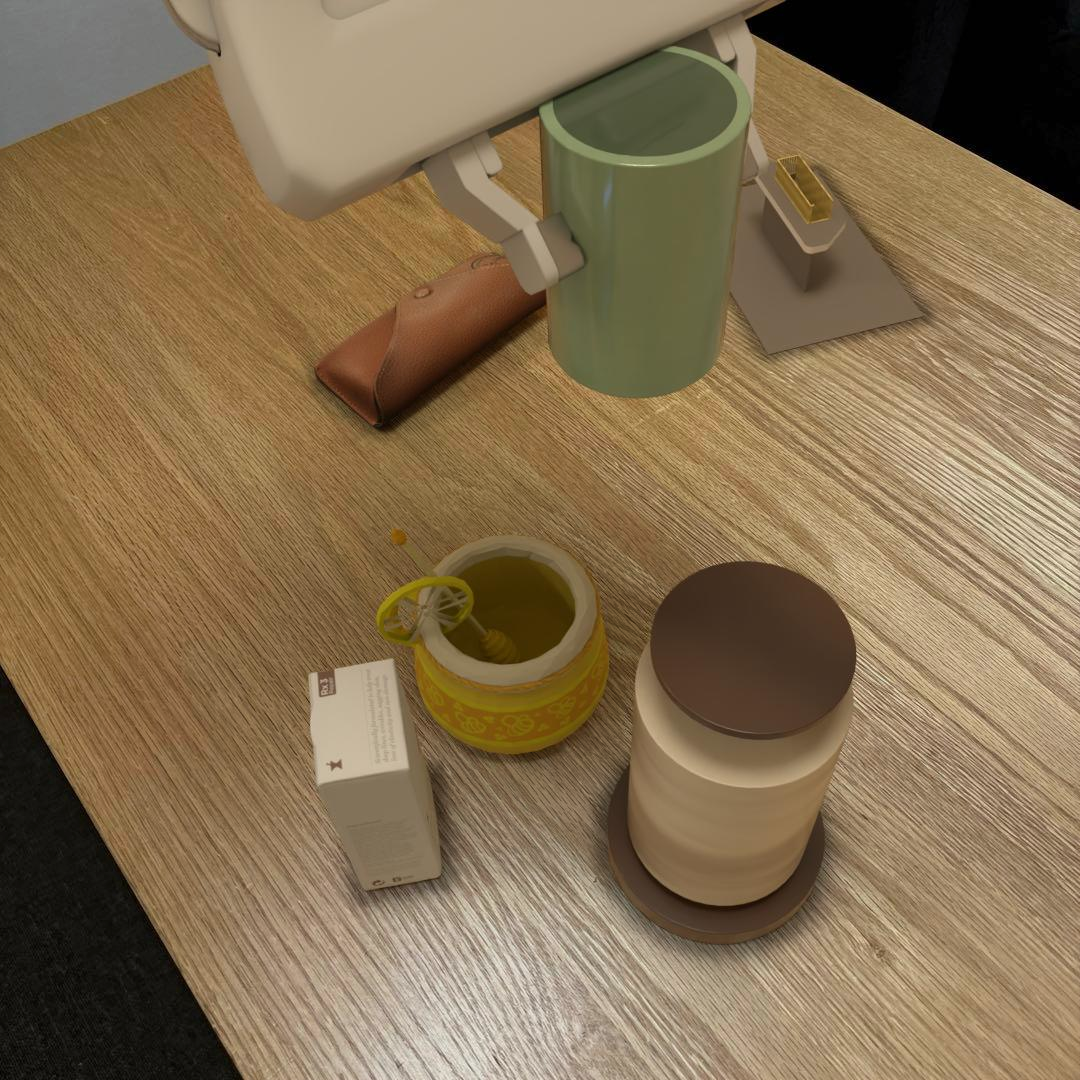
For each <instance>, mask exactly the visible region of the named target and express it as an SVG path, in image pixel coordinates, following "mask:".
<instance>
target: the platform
mask: <svg viewBox="0 0 1080 1080" xmlns="http://www.w3.org/2000/svg"><path fill="white" fill-rule="evenodd" d="M776 161H777V162H774V161H773V162H772V161H769V167H768V170H767V172H765V173H763V174H761V175H759V176H757V177H755V178H754V179H753V180H755V182H756V183H754V184H749V185H745V186H742V193H741V201H740V210H739V218H738V226H737V235H736V243H735V252H734V260H733V268H732V277H731V285H730V295H731V296H732V297H733V299H734V301H735V302H736V304H737V306H738V307H739V309H740V310H741V312H742V314H743V316H744V317H745V319H746V320H747V322H748V324H749V325H750V328H752V330H753V332H754V333H755V335H756V337H757V339H758V340H759V342H760V343H761V346H762V347H763V349H764V350H765V352H766V353H767V355H772V354H776V353H780V352H784V351H789V350H792V349H796V348H801V347H805V346H809V345H812V344H816V343H820V342H825V341H830V340H832V339H836V338H841V337H845V336H850V335H853V334H857V333H861V332H865V331H869V330H870V331H871V330H873V329H877V328H881V327H886V326H891V325H893V324H899V323H902V322H906V321H910V320H914V319H918V318H923V317H925V315H924V314H923V313H922V311H921V310H920V308H919V307H918V305H916V303H915V302H914V300H913V299H912V298H911V296H910V295H909V294H908V292H907V291H906V289H905V288H904V287H903V285H902V284H901V283H900V282H899V280H898V279H897V277H896V276H895V275H894V274H893V272H892V271H891V269H890V268H889V267H888V265H887V264H886V262H884V260H883V258H882V257H881V256H880V254H879V253H878V252H877V250H876V249H875V248H874V247H873V244H871V242H870V241H869V240H868V238H867V237H866V236H865V234H864V233H863V232H862V230H861V229H860V228H859V226H858V225H857V224H856V222H855V221H854V220H853V218H852V216H851V215H850V214H849V213H848V211H847V210H846V208H845V207H844V206H843V204H841V202H840V201H839V199H838V198H837V196H836V195H835V194H834V193H833V191H832V190H831V188H830V187H829V186H828V184H827V183H826V182H825V180H824V179H823V178H822V176H821V175H820V173H819V172H818V171H817V170H812V169H811V168H810V166H809V165H808V163H807V162H806V161H805V159H804V158H803V157H802V156H801V154H800V153H799V154H796V155H795V154H794V155H790V156H786V157H782V158H777V159H776Z"/></svg>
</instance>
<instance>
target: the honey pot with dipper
mask: <svg viewBox="0 0 1080 1080" xmlns="http://www.w3.org/2000/svg"><path fill="white" fill-rule="evenodd" d="M390 536H391V537H390V540H391V542H392V543H393V544H395V545H399V546H401V547H402V548H403V549H404V550H405V551H406V552H407V554H408V555H409V556H410V557H411V558H412V560H414V561H415V562H416V564H417V565H418V566H419V567H420V569H421V570H422V571H423V572H424V573H425V574H426V575H425V576H424V577H422V578H419V579H416V580H413V581H410V582H409V583H407V584H405V585H403V586H401V587H400V588H398V589H396V590H395V591H393V592H391V594H390V595H388V596H387V597H386V599H385V600H384V601H383V602H382V603H381V604H380V605H379V608H378V610H377V612H376V615H375V622H376V623H375V624H376V626H377V629H378V632H379V633H380V635H381V636H382V637H383V639H384V640H386V641H388V642H389V643H392V644H400V645H404V646H407V647H409V648H412V649H414V650H413V653H414V654H413V655H414V672H415V673H414V674H415V679H416V683H417V687H418V691H419V695H420V697H421V699H422V701H423V705H424V707H425V708H426V709H427V711H428V712H429V714H430V715H431V717H432V718H433V720H434V721H435V722H436V723H437V724H438V725H439V726H440V727H442V728H443V729H444V730H445V731H446V732H447V733H448V734H449V735H450V736H452V737H453V738H455V739H457V740H458V741H460V742H462V743H464V744H465V745H467V746H470V747H473V748H476V749H479V750H481V751H484V752H486V753H493V754H504V755H505V754H506V755H517V754H525V753H531V752H538V751H541V750H543V749H546V748H548V747H550V746H554V745H555V744H558V743H560V742H562V741H563V740H565V739H566V738H568V737H569V736H570V735H572V734H573V733H575V732H576V731H578V729H579V728H580V727H582V725H583V724H584V723H585V722H587V720H588V719H590V717H591V716H592V715H593V714H594V711H596V708H597V707H598V705H599V703H600V701H601V700H602V698H603V696H604V694H605V689H606V685H607V681H608V677H609V671H610V649H609V644H608V640H607V639H608V638H607V634H606V629H605V626H604V620H603V616H602V602H601V598H600V597H601V596H600V595H599V592H598V591H599V590H598V588H597V586H596V582H595V580H594V578H593V577H592V573H591V572H590V571H589V569H588V568H587V567H586V566H585V565H584V563H582V562H581V560H580V559H579V558H577V557H575V556H574V554H572V553H570V552H569V551H568V550H567V549H565V548H564V547H561V546H560V545H559V544H557V543H554V542H552V541H550V540H546V539H543V538H540V537H535V536H531V535H523V534H513V533H506V534H504V533H501V534H495V535H491V536H490V535H489V536H486V537H481V538H478V539H475V540H472V541H468V542H466V543H464V544H462V545H459V546H457V547H456V548H454V549H453V550H450V551H449V552H448V554H446V555H444V556H443V557H442V558H441V559H440V560H439V561H438V562H437V563H435V564H434V566H433V567H431V566H430V565H429V564H428V563H427V562H426V560H425V559H424V558H423V557H422V556H421V555H420V554H419V553H418V552H417V550H416V549H415V548H414V547H413V546H412V544H411V543H410V542H409V541H408V538H407V534H406V532H405V531H404V530H403V529H399V528H393V529H392V530H391V531H390ZM400 607H403V608H406V609H410V610H412V611H408V612H404V613H402V614H399V608H400ZM412 613H413V614H412ZM410 614H412V618H410V619H407V620H403V621H401V618H403V617H405V616H408V615H410ZM409 622H412V625H411V627H410V629H408V628H406V627H404V625H406V624H407V623H409Z"/></svg>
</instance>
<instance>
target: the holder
mask: <svg viewBox="0 0 1080 1080" xmlns="http://www.w3.org/2000/svg"><path fill="white" fill-rule="evenodd" d="M857 658H858V657H857V645H856V640H855V634H854V633H853V629H852V626H851V623H850V622H849V619H848V618H847V616H846V614H845V612H844V611H843V609H842V608H841V606H840V605H839V604H838V603H837V601H835V599H834V598H833V597H832V596H831V594H829V593H828V592H827V591H826V590H825V589H823V587H821V586H820V585H818V584H817V583H816V582H814V581H813V580H811V579H810V578H808V577H806V576H805V575H804V574H803V575H802V574H801V573H799V572H796V571H795V570H791V569H789V568H787V567H785V566H781V565H777V564H773V563H769V562H763V561H754V560H753V561H752V560H737V561H736V560H735V561H728V562H721V563H717V564H713V565H710V566H708V567H704V568H702V569H699V570H698V571H695V572H693V573H691V574H690V575H688V576H687V577H685V578H683V579H682V580H681V581H680V582H678V583H677V584H676V585H674V587H673V588H671V589H670V591H669V592H668V593H667V594H666V595H665V597H664V598H663V599H662V601H661V603H660V604H659V606H658V608H657V611H656V612H655V614H654V617H653V621H652V624H651V627H650V638H649V640H648V642H647V643H646V645H645V646H644V649H643V650H642V652H641V654H640V657H639V660H638V663H637V667H636V671H635V679H634V680H635V681H634V692H633V693H634V695H633V709H632V724H631V725H632V728H631V743H630V759H629V760H630V761H629V765H628V766H627V767H626V768H625V769H624V771H623V772H622V774H621V775H620V777H619V779H618V781H617V783H616V784H615V786H614V789H613V792H612V794H611V797H610V801H609V805H608V809H607V819H606V846H607V852H608V858H609V861H610V865H611V868H612V872H613V874H614V876H615V878H616V880H617V883H618V884H619V887H621V890H622V891H623V892H624V894H625V895H626V897H627V898H628V899H629V900H630V902H631V903H632V904H633V906H635V908H636V909H638V911H640V913H642V914H643V915H644V916H645V917H646V918H647V919H648V920H650V921H652V922H653V923H654V924H655V925H657V926H659V928H662V929H664V930H666V931H667V932H670V933H671V934H673V935H676V936H679V937H680V938H684V939H686V940H689V941H690V940H691V941H693V942H699V943H704V944H713V945H731V944H739V943H744V942H748V941H752V940H755V939H759V938H761V937H763V936H765V935H768V934H770V933H772V932H774V931H775V930H777V929H778V928H780V927H782V926H783V925H785V924H786V923H787V922H788V921H789V920H791V918H792V917H794V916H795V914H797V913H798V912H799V910H800V909H801V908H802V907H803V905H804V904H805V902H806V901H807V899H808V898H809V896H810V895H811V892H812V890H813V888H814V886H815V883H816V881H817V879H818V876H819V873H820V871H821V867H822V863H823V860H824V855H825V847H826V841H825V840H826V839H825V837H826V836H825V827H824V819H823V815H822V812H821V807H822V805H823V801H824V799H825V796H826V793H827V791H828V788H829V785H830V782H831V780H832V777H833V774H834V771H835V768H836V766H837V763H838V761H839V757H840V755H841V753H842V750H843V747H844V744H845V741H846V739H847V737H848V736H847V735H848V734H849V730H850V728H851V723H852V720H853V716H854V715H853V714H854V706H855V700H854V690H853V680H854V676H855V672H856V668H857V667H856V666H857Z"/></svg>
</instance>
